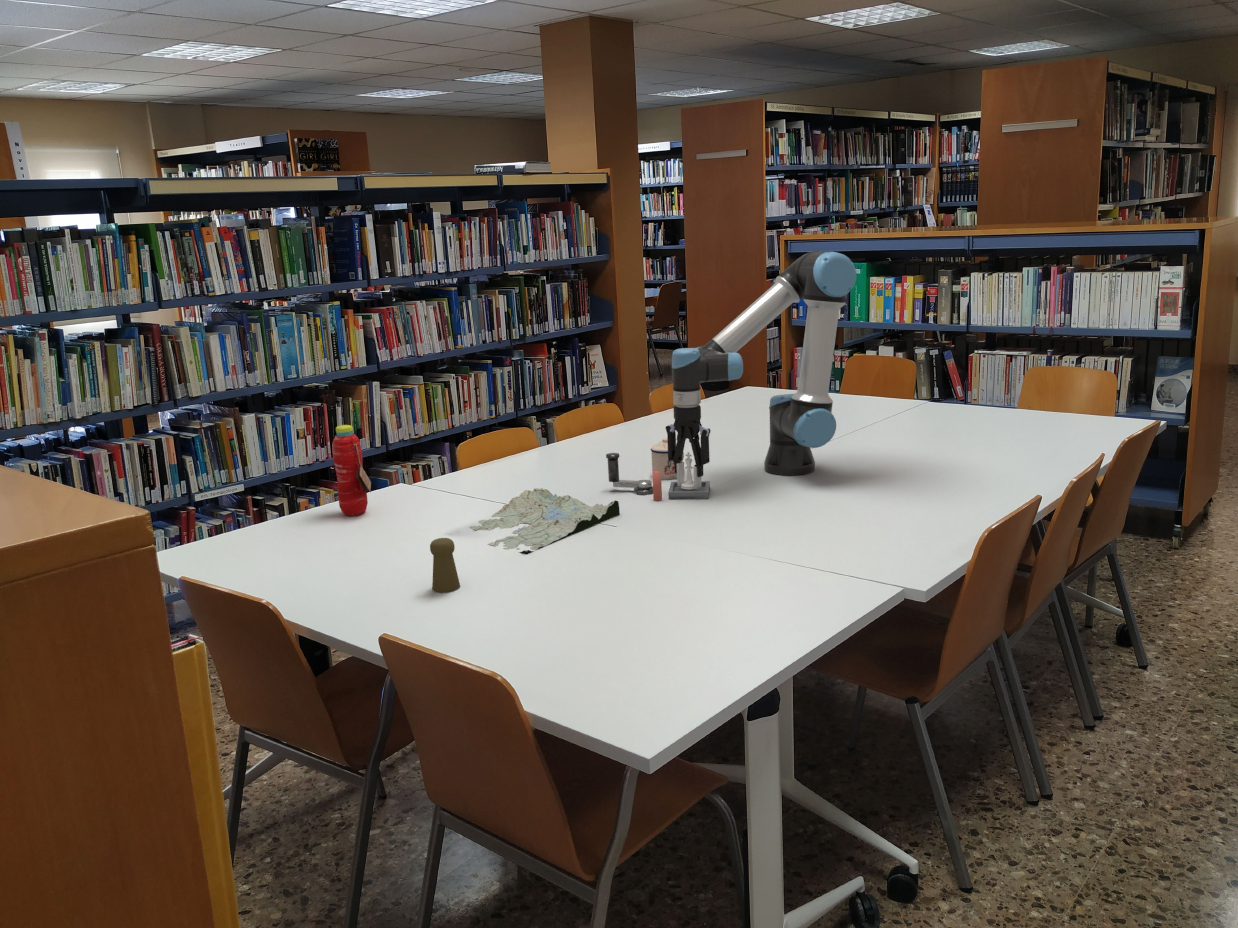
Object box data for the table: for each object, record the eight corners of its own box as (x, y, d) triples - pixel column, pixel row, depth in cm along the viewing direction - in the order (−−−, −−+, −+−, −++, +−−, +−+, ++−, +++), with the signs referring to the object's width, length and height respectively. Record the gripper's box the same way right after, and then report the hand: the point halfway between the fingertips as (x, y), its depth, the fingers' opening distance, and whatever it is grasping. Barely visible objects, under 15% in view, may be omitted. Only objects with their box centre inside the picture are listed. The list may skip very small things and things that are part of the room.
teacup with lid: (667, 481, 276) (665, 443, 273) (645, 476, 282) (643, 439, 279) (694, 473, 283) (693, 436, 281) (672, 468, 290) (671, 432, 287)
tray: (709, 487, 267) (709, 481, 267) (708, 499, 257) (708, 492, 256) (671, 488, 269) (671, 481, 268) (668, 499, 258) (668, 492, 258)
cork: (433, 583, 205) (428, 536, 202) (461, 581, 205) (456, 533, 202) (430, 593, 199) (425, 545, 196) (459, 591, 199) (454, 543, 197)
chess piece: (686, 483, 266) (685, 449, 263) (701, 485, 263) (700, 451, 260) (677, 488, 262) (676, 453, 259) (692, 490, 259) (691, 455, 256)
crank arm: (653, 485, 267) (652, 453, 265) (649, 489, 263) (648, 457, 261) (610, 483, 271) (608, 452, 269) (605, 487, 267) (603, 456, 265)
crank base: (655, 488, 269) (655, 485, 268) (653, 494, 263) (653, 491, 263) (635, 489, 270) (635, 485, 269) (632, 495, 264) (632, 491, 264)
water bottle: (383, 513, 258) (373, 425, 252) (359, 521, 252) (348, 431, 246) (356, 506, 265) (346, 421, 259) (333, 514, 259) (321, 426, 253)
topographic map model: (527, 557, 220) (525, 537, 219) (443, 536, 238) (442, 517, 237) (620, 516, 247) (619, 498, 246) (539, 500, 265) (537, 484, 264)
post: (662, 498, 259) (661, 470, 257) (661, 500, 257) (660, 473, 255) (653, 498, 260) (652, 470, 258) (653, 501, 257) (651, 473, 255)
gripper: (652, 404, 259) (655, 485, 265) (707, 410, 248) (709, 493, 254) (667, 400, 264) (670, 479, 270) (722, 405, 254) (723, 487, 260)
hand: (689, 486), depth 262 cm, fingers closed on chess piece, 5 cm apart
